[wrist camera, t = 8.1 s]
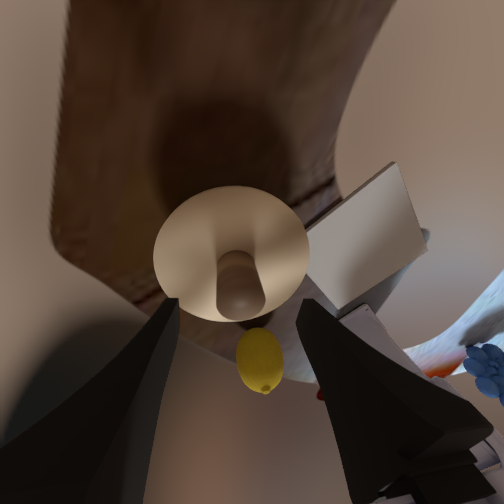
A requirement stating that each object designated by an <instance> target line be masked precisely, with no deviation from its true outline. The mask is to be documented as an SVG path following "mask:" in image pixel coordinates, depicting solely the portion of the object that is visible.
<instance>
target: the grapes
mask: <svg viewBox="0 0 504 504" xmlns="http://www.w3.org/2000/svg"><path fill="white" fill-rule="evenodd" d="M466 353H467V355H468V356H469V358H467V359H465V360H464V361H463V365H464V368H465V369H466V370H467V372H469V373H470V374H471V375H473V376H476V377H477V378H476V380H475V383H476V386H477V388H478V389H479V391H480V392H482V393H483V394H484V395H486V396H488V397H491V398H497V397H499V398H500V402H501V404H502V405H503V406H504V352H503V351H502V350H501V349H500V348H499V347H497V346H496V345H493V344H484V345H482V347H481V348H479V347H475V346H470V347H468V348H467V349H466Z"/></svg>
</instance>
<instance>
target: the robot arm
mask: <svg viewBox="0 0 504 504" xmlns="http://www.w3.org/2000/svg"><path fill="white" fill-rule="evenodd" d="M296 327H297V330H298V334H299V337H300V340H301V343H302V345H303V347H304V350H305V352H306V354H307V357H308V359H309V361H310V364H311V366H312V368H313V371H314V373H315V375H316V378H317V380H318V383H319V386H320V389H321V392H322V395H323V398H324V401H325V404H326V407H327V410H328V414H329V417H330V420H331V423H332V427H333V431H334V434H335V438H336V442H337V445H338V449H339V452H340V457H341V460H342V465H343V469H344V473H345V477H346V481H347V485H348V490H349V495H350V498H351V500H352V503H353V504H504V437H503V436H502V435H501V434H500V433H499V432H498V431H497V430H496V429H495V428H494V427H493V425H492V424H491V423H490V422H489V421H488V420H487V419H486V418H485V417H484V416H483V415H482V414H481V413H480V412H479V411H478V410H477V409H476V408H475V407H474V406H473V405H472V404H471V403H470V402H469V401H468V400H467V399H466V398H464V396H462V395H461V393H460V392H458V391H457V390H456V389H455V388H454V387H453V386H452V385H451V384H450V383H449V382H448V381H447V380H446V379H442V378H438V377H437V376H434V377H433V378H431V379H432V380H431V379H430V378H429V377H428V376H426V375H425V374H424V373H423V372H422V371H421V369H420V368H419V367H418V366H417V365H416V364H415V363H414V362H413V361H412V360H411V358H410V357H409V356H408V355H407V354H406V353H405V352H404V351H403V350H402V349H401V347H399V345H398V344H397V343H396V342H395V341H394V340H393V339H392V338H391V337H390V335H389V334H388V332H387V331H386V329H385V328H384V327H383V325H382V324H381V322H380V321H379V319H378V318H377V317H376V315H375V314H374V313H373V311H372V310H371V308H370V307H369V306H368V305H367V304H363V305H361V306H360V307H358V308H357V309H355V310H354V311H352V312H350V313H349V314H347V315H346V316H344V317H343V318H341V319H340V320H337V319H336V318H335V317H334V316H333V315H331V314H330V313H329V312H328V311H327V310H326V309H325V308H323V307H322V306H321V305H320V304H319V303H318V302H316V301H315V300H314V299H303V302H302V305H301V308H300V311H299V314H298V317H297V320H296ZM179 328H180V313H179V298H166V299H165V300H164V301H163V302H162V304H161V305H160V306H159V308H158V309H157V310H156V312H155V313H154V314H153V315H152V317H151V318H150V319H149V320H148V322H147V323H146V324H145V325H144V326H143V327H142V329H141V330H140V331H139V332H138V333H137V334H136V336H134V337H133V339H132V340H131V341H130V342H129V343H128V344H127V345H126V346H125V347H124V348H123V349H122V350H121V351H120V352H119V353H118V354H117V355H116V356H115V357H114V358H113V359H112V360H111V361H110V362H109V363H108V364H107V365H105V366H104V367H103V368H102V369H101V370H100V371H99V372H98V373H97V374H95V375H94V376H93V377H92V378H91V379H90V380H89V381H88V382H86V383H85V384H84V385H83V386H82V387H81V388H79V389H78V390H77V391H76V392H74V393H73V394H72V395H71V396H69V397H68V398H67V399H66V400H64V401H63V402H62V403H60V404H59V405H58V406H57V407H55V408H54V409H53V410H52V411H50V412H49V413H48V414H46V415H45V416H44V417H43V418H41V419H40V420H39V421H37V422H36V423H35V424H33V425H32V426H31V427H29V428H28V429H27V430H25V431H24V432H22V433H21V434H20V435H18V436H17V437H15V438H14V439H13V440H11V441H10V442H9V443H7V444H6V445H4V446H3V447H2V448H0V504H142V503H143V497H144V491H145V485H146V480H147V474H148V468H149V463H150V457H151V451H152V446H153V441H154V435H155V430H156V425H157V420H158V414H159V409H160V404H161V400H162V395H163V391H164V387H165V384H166V381H167V377H168V374H169V370H170V367H171V363H172V359H173V356H174V352H175V349H176V345H177V340H178V334H179ZM497 463H500V467H499V468H497V469H493V470H489V471H486V472H483V473H481V472H480V470H483V469H485V468H488V467H490V466H493V465H495V464H497Z"/></svg>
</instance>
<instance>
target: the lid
mask: <svg viewBox="0 0 504 504" xmlns="http://www.w3.org/2000/svg"><path fill="white" fill-rule="evenodd" d="M309 255H310V248H309V240H308V237H307V233H306V231H305V228H304V226H303V224H302V222H301V221H300V219H299V218H298V216H297V215H296V214H295V213H294V212H293V211H292V209H291V208H289V207H288V206H287V205H286V204H285V203H283V202H282V201H281V200H280V199H278V198H276V197H275V196H273V195H272V194H269V193H267V192H265V191H262V190H259V189H256V188H252V187H246V186H222V187H215V188H212V189H209V190H205V191H203V192H200V193H198V194H196V195H194V196H192V197H191V198H189V199H187V200H186V201H184V202H183V203H182V204H181V205H180V206H178V207H177V208H176V209H175V210H174V211H173V212H172V214H171V215H170V216H169V217H168V219H167V220H166V221H165V223H164V225H163V226H162V228H161V229H160V232H159V234H158V236H157V239H156V243H155V247H154V256H153V261H154V269H155V273H156V276H157V279H158V281H159V283H160V285H161V287H162V289H163V290H164V292H165V293H166V294H167V295H168V297H169V298H179V307H181V308H182V309H184V310H185V311H187V312H189V313H191V314H193V315H195V316H198V317H201V318H204V319H208V320H213V321H221V322H236V321H244V320H249V319H253V318H256V317H259V316H261V315H264V314H266V313H268V312H270V311H272V310H274V309H275V308H277V307H279V306H280V305H281V304H283V303H284V302H285V301H286V300H287V299H288V298H289V297H290V296H291V295H292V294H293V293H294V292H295V291H296V289H297V288H298V287H299V285H300V284H301V282H302V280H303V278H304V276H305V274H306V271H307V267H308V263H309Z"/></svg>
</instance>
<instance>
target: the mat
mask: <svg viewBox="0 0 504 504" xmlns="http://www.w3.org/2000/svg"><path fill="white" fill-rule="evenodd" d="M305 231H306V233H307V237H308V240H309V248H310V255H309V263H308V267H307V271H306V273H307V274H308V276H309V277H310V278H311V279H312V280H313V281H314V282H315V284H316V285H317V286H318V287H319V288H320V289H321V290H322V291H323V293H324V294H325V295H326V296H327V297H328V298H329V299H330V301H331V302H332V303H333V304H334V305H335V306H336V307H337V309H338V310H339V309H340V308H342V307H343V306H345V305H346V304H348V303H349V302H351V301H352V300H354V299H355V298H357V297H358V296H360V295H361V294H363V293H364V292H366V291H368V290H369V289H371V288H372V287H374V286H375V285H377V284H378V283H380V282H381V281H383V280H384V279H386V278H387V277H389V276H390V275H392V274H393V273H395V272H396V271H398V270H400V269H401V268H403V267H404V266H406V265H407V264H409V263H410V262H412V261H413V260H415V259H416V258H418V257H419V256H421V255H422V254H424V253H425V252H427V251H428V248H427V245H426V243H425V240H424V237H423V234H422V231H421V229H420V226H419V223H418V220H417V217H416V215H415V212H414V209H413V206H412V203H411V201H410V198H409V195H408V192H407V190H406V187H405V184H404V181H403V178H402V175H401V173H400V170H399V167H398V164H397V162H391V163H389V164H388V165H387V166H386V167H384V168H383V169H382V170H381V171H379V172H378V173H377V174H375V175H374V176H373V177H372V178H370V179H369V180H368V181H367V182H365V183H364V184H363V185H361V186H360V187H359V188H358V189H356V190H355V191H354V192H353V193H351V194H350V195H349V196H348V197H346V198H345V199H344V200H342V201H341V202H340V203H339V204H337V205H336V206H335V207H334V208H332V209H331V210H330V211H328V212H327V213H326V214H325V215H323V216H322V217H321V218H320V219H318V220H317V221H316V222H315V223H313V224H312V225H311V226H309V227H308V228H307V229H306V230H305Z"/></svg>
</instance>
